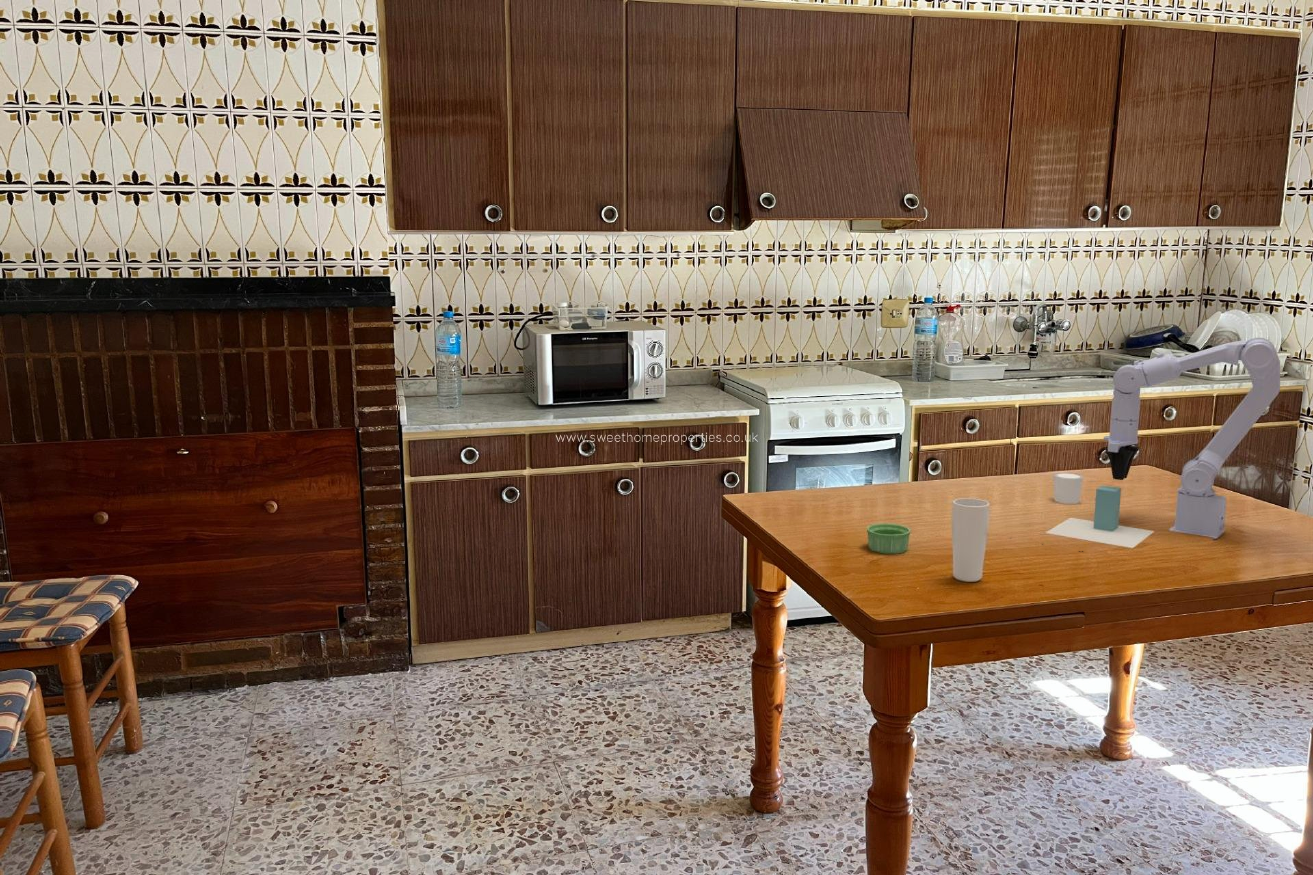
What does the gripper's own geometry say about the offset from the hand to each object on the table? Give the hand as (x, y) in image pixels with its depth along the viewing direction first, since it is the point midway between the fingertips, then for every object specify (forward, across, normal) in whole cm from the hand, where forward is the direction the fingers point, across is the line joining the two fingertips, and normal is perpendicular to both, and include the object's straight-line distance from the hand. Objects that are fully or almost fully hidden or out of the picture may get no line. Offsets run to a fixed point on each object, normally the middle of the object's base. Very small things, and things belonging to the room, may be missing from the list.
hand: (1119, 478), depth 228 cm
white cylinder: (+11, -11, -15) cm, 21 cm away
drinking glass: (+11, +58, -10) cm, 60 cm away
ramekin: (+11, +50, -31) cm, 60 cm away
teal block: (+10, +8, 0) cm, 13 cm away
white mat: (+10, +12, 0) cm, 16 cm away
